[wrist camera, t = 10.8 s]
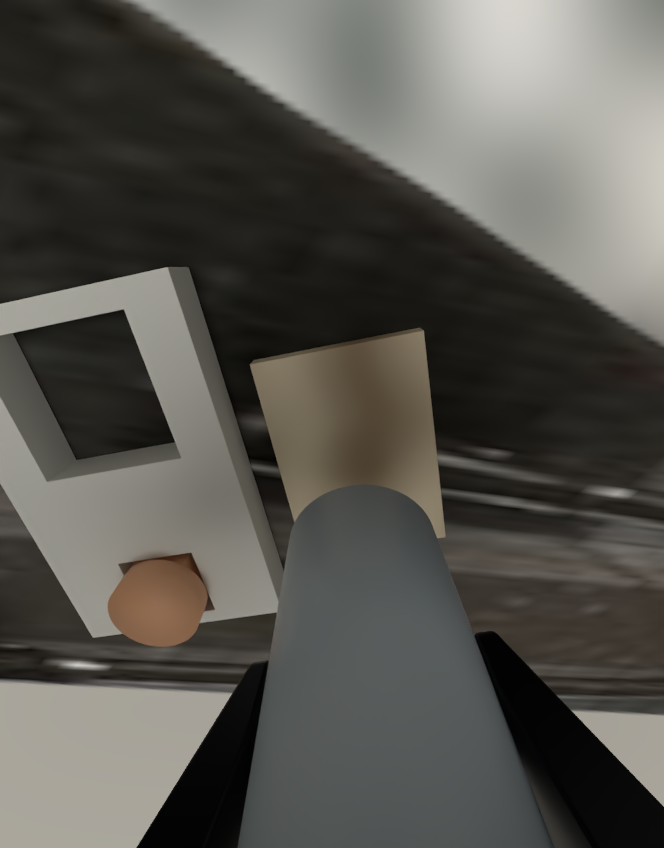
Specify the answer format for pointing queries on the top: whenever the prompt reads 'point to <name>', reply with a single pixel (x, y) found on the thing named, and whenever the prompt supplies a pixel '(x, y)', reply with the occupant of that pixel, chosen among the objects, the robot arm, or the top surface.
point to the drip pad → (353, 419)
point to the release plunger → (159, 600)
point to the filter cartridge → (380, 696)
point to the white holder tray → (138, 460)
